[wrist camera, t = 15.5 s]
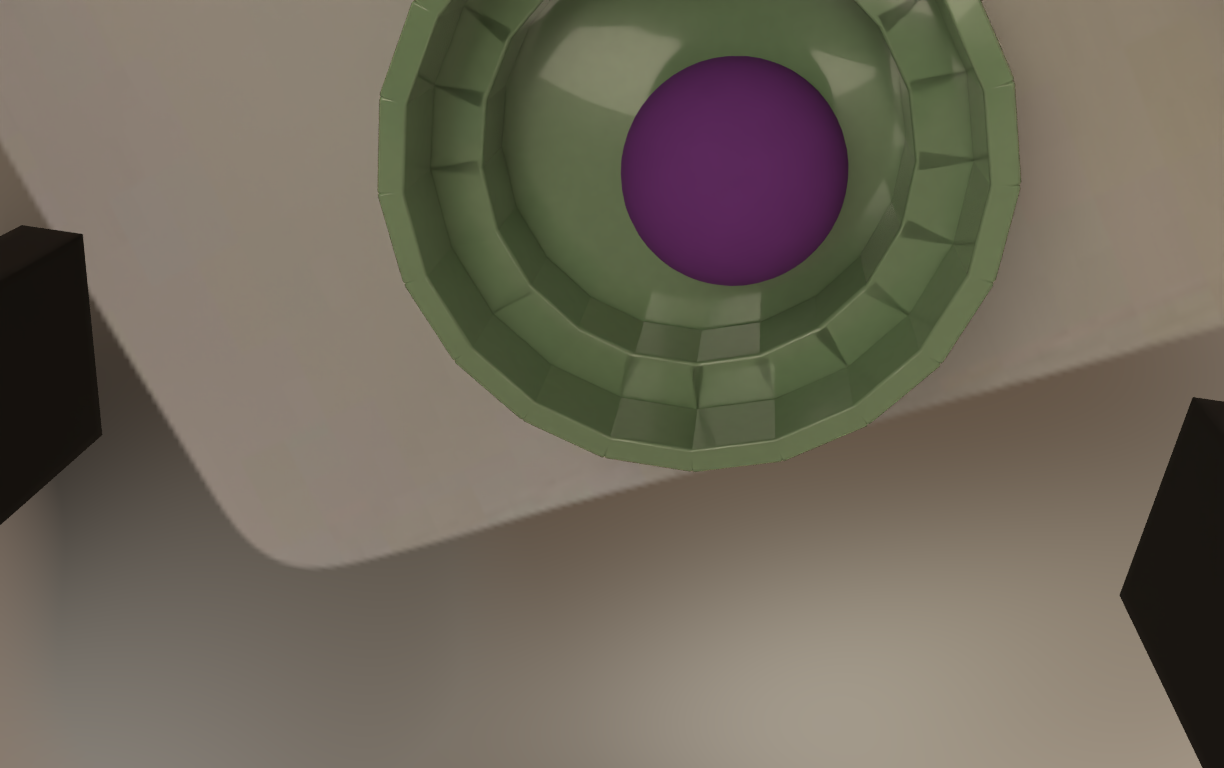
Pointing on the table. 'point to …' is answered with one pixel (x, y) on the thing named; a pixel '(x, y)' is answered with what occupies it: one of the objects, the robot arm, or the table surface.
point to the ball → (734, 170)
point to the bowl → (633, 275)
